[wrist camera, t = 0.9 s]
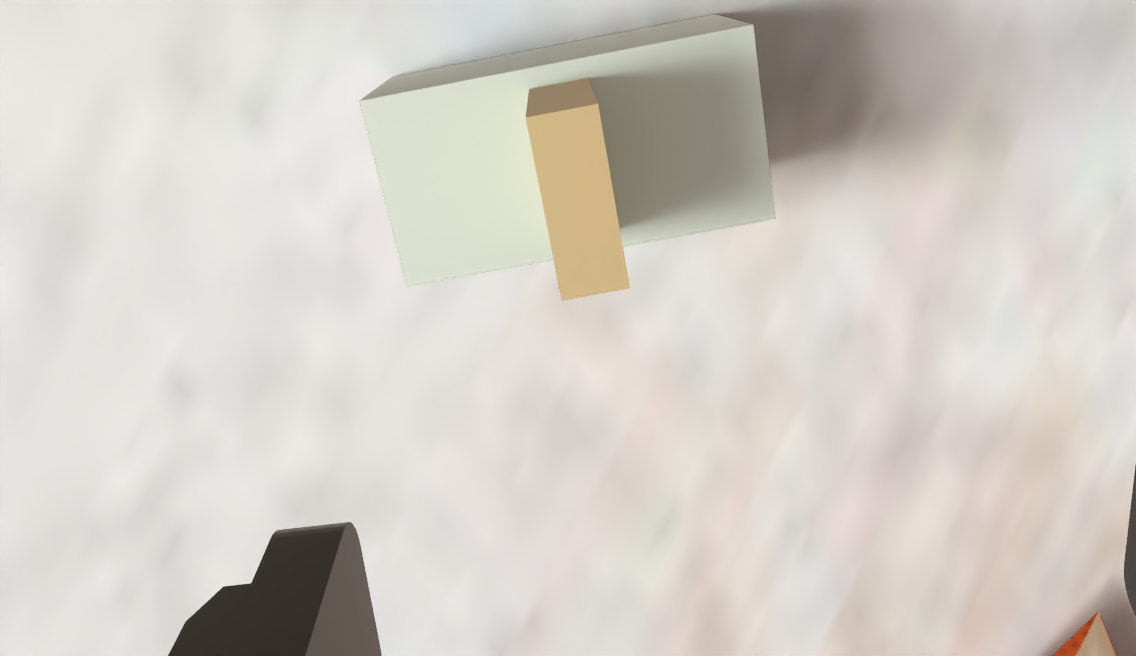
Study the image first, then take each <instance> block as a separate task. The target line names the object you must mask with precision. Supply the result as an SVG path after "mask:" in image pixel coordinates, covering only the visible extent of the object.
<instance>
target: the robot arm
mask: <svg viewBox="0 0 1136 656" xmlns="http://www.w3.org/2000/svg"><path fill="white" fill-rule="evenodd" d="M1124 579H1125V586H1126V590H1127V594H1128V598H1129V601H1130V604H1131V606H1132V608H1133V611H1134V613H1135V615H1136V467H1135V475H1134V484H1133V493H1132V502H1131V510H1130V519H1129V528H1128V536H1127V545H1126V554H1125V562H1124ZM168 656H381V650H380V644H379V639H378V634H377V628H376V623H375V618H374V613H373V608H372V603H371V598H370V592H369V587H368V582H367V577H366V572H365V567H364V562H363V556H362V551H361V546H360V542H359V538H358V534H357V532H356V529H355V527H354V525H353V524H352V523H350V522H347V523H338V524H329V525H320V526H311V527H302V528H293V529H284V530H277V531H275V533H274V534H273V535H272V537H271V539H270V542H269V544H268V546H267V549H266V551H265V553H264V555H263V558H262V560H261V562H260V565H259V567H258V569H257V572H256V574H255V576H254V579H253V581H252V583H251V584H243V585H234V586H225V587H223V588H222V589H221V590H219V591H218V592H217V593H216V594H215V595H214V596H213V597H212V598H211V599H210V600H209V601H208V602H207V603H205V604H204V605H203V606H202V607H201V608H200V609H199V610H198V611H197V612H196V613H195V614H194V615H193V616H191V617H190V618H189V619H188V620H187V621H186V622H185V624H184V626H183V628H182V630H181V632H180V634H179V636H178V638H177V640H176V642H175V644H174V645H173V647H172V649H171V651H170V653H169V655H168Z"/></svg>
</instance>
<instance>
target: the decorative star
mask: <svg viewBox="0 0 1136 656" xmlns="http://www.w3.org/2000/svg"><path fill="white" fill-rule="evenodd" d="M1053 656H1116V654H1115V652H1114V649H1113V646H1112V644H1111V641H1110V639H1109V636H1108V633H1107V631H1106V628H1105V626H1104V623H1103V621H1102V618H1101V615H1100V613H1099V612H1098V613H1096V614H1095V615H1094V616H1093V617H1092V618H1091V619H1090V620H1089V621H1088V622H1087V623H1086V624H1085V625H1084V626H1083V627H1082V628H1081V629H1080V630H1079V631H1078V632H1077V633H1076V634H1075V635H1074V636H1073V637H1072V638H1071V639H1070V640H1069V641H1068V642H1067V643H1066V644H1065V645H1064V646H1062V647H1061V648H1060V649H1059V650H1058V651H1057V652H1056V653H1055V654H1054V655H1053Z"/></svg>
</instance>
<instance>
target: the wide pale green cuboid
mask: <svg viewBox="0 0 1136 656" xmlns="http://www.w3.org/2000/svg"><path fill="white" fill-rule="evenodd" d="M359 102H360V106H361V110H362V114H363V118H364V122H365V126H366V130H367V134H368V137H369V141H370V145H371V149H372V153H373V157H374V161H375V165H376V169H377V173H378V177H379V180H380V184H381V188H382V192H383V196H384V200H385V204H386V208H387V212H388V216H389V220H390V224H391V227H392V231H393V235H394V239H395V243H396V247H397V251H398V255H399V259H400V263H401V267H402V270H403V274H404V278H405V282H406V286H407V287H410V286H415V285H421V284H426V283H432V282H437V281H442V280H448V279H453V278H459V277H464V276H469V275H475V274H480V273H486V272H491V271H496V270H502V269H507V268H512V267H518V266H523V265H529V264H534V263H539V262H545V261H550V260H554V264H555V269H556V274H557V279H558V284H559V289H560V294H561V299H562V301H563V300H568V299H573V298H579V297H584V296H590V295H595V294H601V293H606V292H612V291H617V290H622V289H628V288H630V286H629V281H628V275H627V269H626V263H625V257H624V252H623V247H626V246H631V245H637V244H642V243H647V242H653V241H658V240H664V239H669V238H674V237H680V236H685V235H691V234H696V233H701V232H707V231H712V230H717V229H723V228H728V227H734V226H739V225H744V224H750V223H755V222H761V221H766V220H771V219H775V210H774V201H773V192H772V184H771V175H770V166H769V157H768V149H767V140H766V131H765V122H764V114H763V105H762V96H761V87H760V79H759V70H758V61H757V52H756V44H755V35H754V26H753V24H749V23H746V22H742V21H738V20H735V19H731V18H727V17H724V16H720V15H716V14H712V15H706V16H701V17H696V18H691V19H686V20H681V21H676V22H670V23H665V24H660V25H655V26H650V27H645V28H640V29H635V30H629V31H624V32H619V33H614V34H609V35H604V36H599V37H593V38H588V39H583V40H578V41H573V42H568V43H563V44H557V45H552V46H547V47H542V48H537V49H532V50H527V51H522V52H516V53H511V54H506V55H501V56H496V57H491V58H486V59H480V60H475V61H470V62H465V63H460V64H455V65H450V66H444V67H439V68H434V69H429V70H424V71H419V72H414V73H409V74H403V75H398V76H393V77H392V78H390V79H389V80H388V81H386V82H385V83H383V84H382V85H381V86H379V87H378V88H377V89H375V90H374V91H372V92H371V93H370V94H368V95H367V96H365V97H364V98H363V99H361V100H360V101H359Z"/></svg>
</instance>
